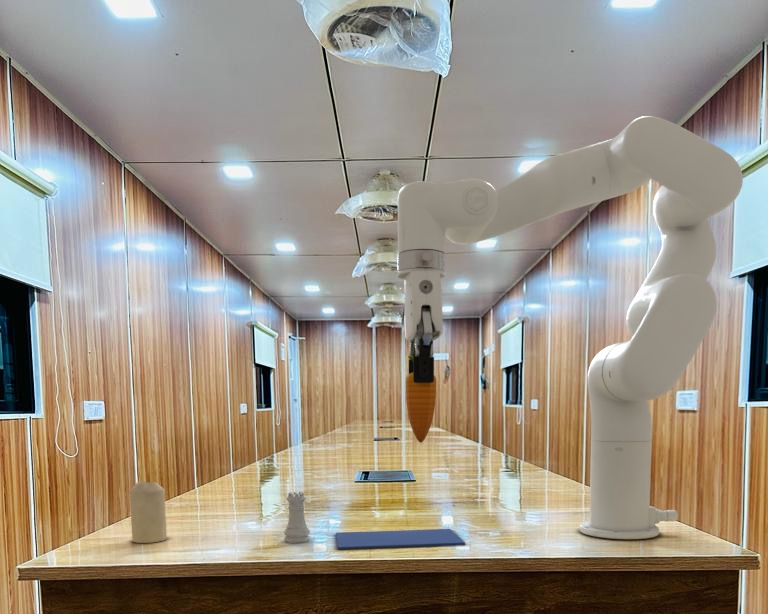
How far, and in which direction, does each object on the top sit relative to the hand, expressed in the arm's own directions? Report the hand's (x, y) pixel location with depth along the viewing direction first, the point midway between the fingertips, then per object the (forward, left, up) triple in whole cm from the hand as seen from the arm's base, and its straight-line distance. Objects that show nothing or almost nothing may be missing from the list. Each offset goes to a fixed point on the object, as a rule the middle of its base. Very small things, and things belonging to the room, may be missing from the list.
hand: (420, 382), depth 106 cm
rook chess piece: (+21, -2, -26) cm, 33 cm away
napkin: (+4, 0, -26) cm, 26 cm away
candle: (+46, -7, -26) cm, 53 cm away
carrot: (0, 0, -10) cm, 10 cm away
